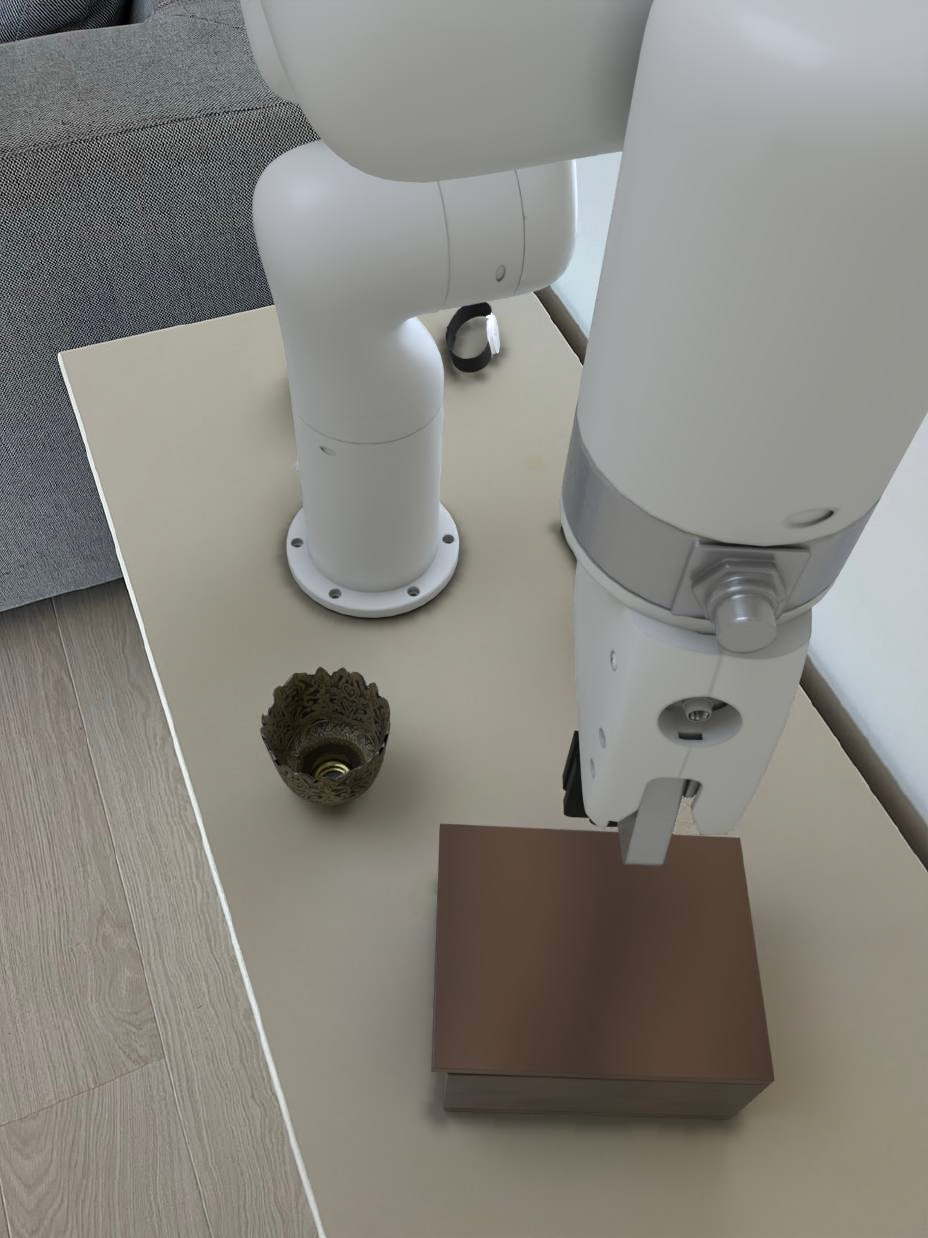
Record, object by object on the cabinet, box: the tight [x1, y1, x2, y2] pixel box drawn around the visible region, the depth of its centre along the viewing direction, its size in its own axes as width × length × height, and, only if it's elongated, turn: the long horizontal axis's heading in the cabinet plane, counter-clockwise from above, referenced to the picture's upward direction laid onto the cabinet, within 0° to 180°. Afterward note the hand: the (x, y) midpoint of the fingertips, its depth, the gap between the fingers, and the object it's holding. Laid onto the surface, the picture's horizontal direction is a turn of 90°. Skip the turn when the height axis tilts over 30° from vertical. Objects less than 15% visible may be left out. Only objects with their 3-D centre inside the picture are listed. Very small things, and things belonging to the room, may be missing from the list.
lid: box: [430, 823, 776, 1085], centre depth 54 cm, size 16×12×1 cm
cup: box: [259, 666, 392, 807], centre depth 65 cm, size 8×7×8 cm
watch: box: [445, 302, 501, 374], centre depth 92 cm, size 8×5×4 cm, turn 175°
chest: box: [442, 1073, 771, 1120], centre depth 58 cm, size 15×12×8 cm
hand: (602, 799), depth 42 cm, fingers closed
